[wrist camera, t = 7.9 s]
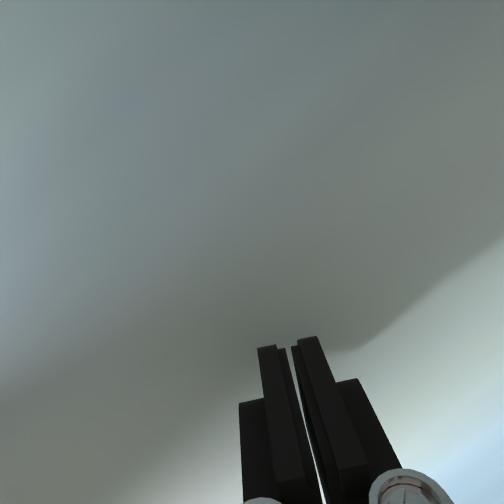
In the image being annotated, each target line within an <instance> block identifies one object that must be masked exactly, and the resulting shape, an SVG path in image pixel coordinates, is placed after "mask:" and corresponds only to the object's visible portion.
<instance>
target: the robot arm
mask: <svg viewBox="0 0 504 504" xmlns="http://www.w3.org/2000/svg"><path fill="white" fill-rule="evenodd" d="M297 343H298V345H296V346H291V351H292V356H293V361H294V366H295V371H296V376H297V382H298V387H299V392H300V397H301V402H302V407H303V412H304V417H305V422H306V427H307V431H308V435H309V439H310V443H311V446H312V450H313V454H314V458H315V462H316V466H317V470H318V473H319V477H320V481H321V485H322V489H323V493H324V497H325V500H326V504H454V503H453V501H452V500H451V499H450V497H449V496H448V495H447V493H446V492H445V491H444V490H443V489H442V488H441V487H440V485H439V484H438V483H437V482H436V481H434V480H433V479H431V478H430V477H428V476H427V475H425V474H423V473H421V472H418V471H415V470H412V469H403V468H402V466H401V464H400V462H399V460H398V458H397V456H396V454H395V452H394V450H393V448H392V446H391V444H390V442H389V440H388V438H387V436H386V434H385V432H384V430H383V428H382V426H381V424H380V422H379V420H378V418H377V416H376V414H375V412H374V410H373V408H372V406H371V404H370V402H369V400H368V398H367V396H366V394H365V392H364V390H363V388H362V385H361V384H360V382H359V380H358V379H357V378H355V379H351V380H346V381H341V382H335V380H334V377H333V375H332V372H331V370H330V367H329V365H328V363H327V360H326V358H325V355H324V353H323V350H322V348H321V345H320V343H319V340H318V338H317V336H313V337H308V338H303V339H298V340H297ZM257 351H258V358H259V365H260V372H261V380H262V387H263V394H264V398H261V399H256V400H251V401H246V402H242V403H239V425H240V445H241V465H242V484H243V504H323V503H322V498H321V493H320V488H319V483H318V478H317V473H316V469H315V465H314V460H313V456H312V453H311V449H310V445H309V441H308V437H307V433H306V429H305V425H304V421H303V417H302V413H301V409H300V405H299V402H298V398H297V394H296V390H295V386H294V382H293V378H292V374H291V370H290V366H289V362H288V358H287V354H286V350H285V348H282V349H277V346H276V344H275V345H270V346H265V347H261V348H257Z"/></svg>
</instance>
